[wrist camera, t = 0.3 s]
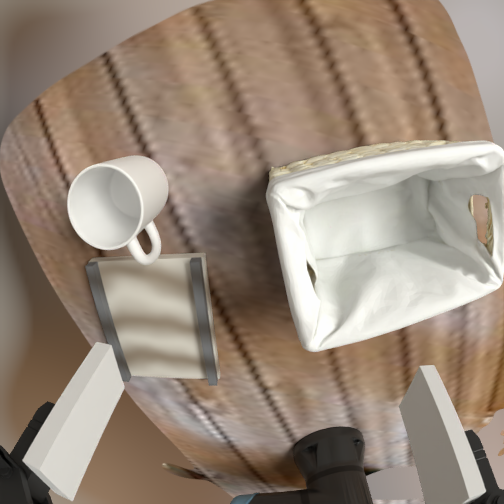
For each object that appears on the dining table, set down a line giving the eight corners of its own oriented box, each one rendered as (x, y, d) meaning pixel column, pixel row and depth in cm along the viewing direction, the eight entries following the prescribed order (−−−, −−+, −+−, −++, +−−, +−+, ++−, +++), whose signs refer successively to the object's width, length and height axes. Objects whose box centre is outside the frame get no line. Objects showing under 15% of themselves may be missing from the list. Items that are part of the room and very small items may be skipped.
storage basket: (434, 131, 33) (511, 140, 19) (443, 245, 39) (505, 292, 25) (255, 163, 35) (260, 182, 21) (284, 286, 41) (301, 360, 27)
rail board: (220, 372, 46) (219, 385, 43) (125, 369, 46) (120, 380, 43) (205, 252, 39) (202, 262, 36) (92, 257, 39) (83, 266, 36)
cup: (151, 142, 34) (117, 147, 24) (195, 230, 38) (178, 263, 28) (97, 175, 35) (54, 191, 25) (141, 256, 39) (111, 293, 30)
